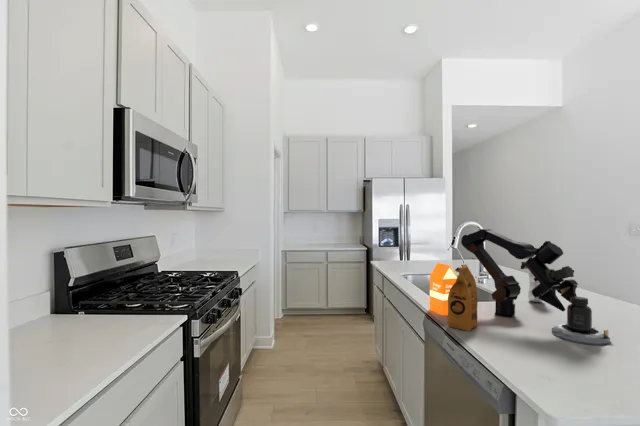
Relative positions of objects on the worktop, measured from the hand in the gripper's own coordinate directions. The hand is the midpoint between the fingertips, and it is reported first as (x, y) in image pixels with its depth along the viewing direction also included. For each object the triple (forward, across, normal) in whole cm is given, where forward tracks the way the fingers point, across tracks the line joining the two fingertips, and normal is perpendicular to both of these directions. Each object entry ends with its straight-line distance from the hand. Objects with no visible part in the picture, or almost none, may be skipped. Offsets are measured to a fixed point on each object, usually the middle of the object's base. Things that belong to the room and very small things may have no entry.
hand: (572, 309), depth 123 cm
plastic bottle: (-17, +32, +30) cm, 47 cm away
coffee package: (-10, -27, +23) cm, 36 cm away
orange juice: (-22, -19, +35) cm, 45 cm away
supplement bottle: (+7, 0, +4) cm, 8 cm away
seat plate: (+8, 0, +4) cm, 9 cm away
